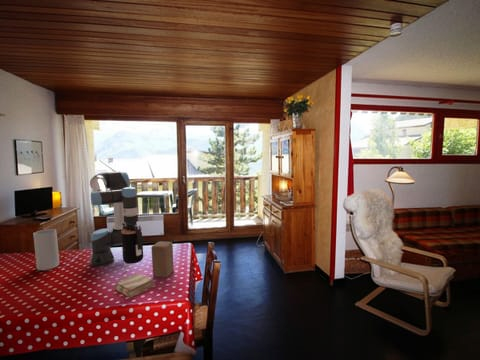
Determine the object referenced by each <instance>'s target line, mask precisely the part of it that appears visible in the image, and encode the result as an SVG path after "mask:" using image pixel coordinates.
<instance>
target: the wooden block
mask: <svg viewBox="0 0 480 360" xmlns="http://www.w3.org/2000/svg"><path fill="white" fill-rule="evenodd" d="M173 248H174V246H173V242H172V241H161V240H160V241H158V242H156V243H155V244H153V245H151V263H152V264H151V265H152V276H153V277H156V278H168V277H169V276H170V275H171V274H172V273H173V272H174V267H175V265H174V251H173V250H174V249H173Z"/></svg>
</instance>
